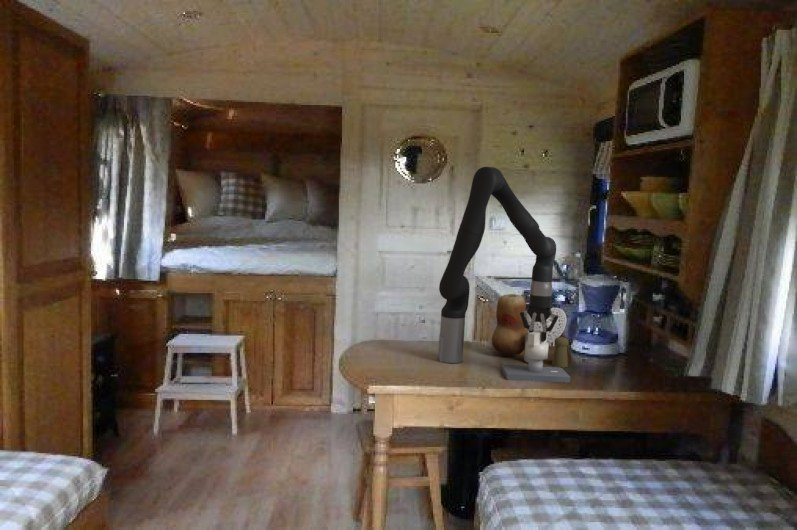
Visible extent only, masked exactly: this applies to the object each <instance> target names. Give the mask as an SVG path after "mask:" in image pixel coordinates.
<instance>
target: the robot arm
mask: <svg viewBox="0 0 797 530" xmlns="http://www.w3.org/2000/svg"><path fill="white" fill-rule="evenodd" d="M491 195H492V196H493V197H494V198H495V199H496V200H497V201H498V203H499V204H500V206H502V208H503V210H504V212H505V214H506V216H507V218H508V220H509V221H510V223H511V225H513V227H514V228H515V229H516V230H517V231H518V233H519V234H520V235H521V236H522V237H523V239H524V241H525V242H526V245H527V247H528V248H529V249H530V251H531V252H532V253H533V254H534V255H535V263H534V265H533V267H532V271H531V272H532V273H531V283H530V288H529V289H530V290H529V302H528V308H527V310H525V311H522V312H521V313H520V316H521V319H522V322H523V325H524V328H525V329H527V331H528V330H529V333H531V332H534V330H533V328H534V325H535V322H537V323H538V322H541V323H542V328H543V332H542V340H541V342H543V343H544V341H545V340H546V336H547V333H548V331H549V332H551V330H552V329H553V327H554V325H555V323H556V322H557V319H558V317H559V316H558V315H555V314H553V313H552V311H551V307H552V297H553V296H552V295H553V272H554V271H553V270H554V264H555V261H556V254H557V244H556V241H555V240H554V239H553V238H552V237H549V236H546V235H545V234H544V233H543V231H542V230H541V229H540V224H539V223H538V222H537V220H536V219H535V218H534V216H532V214H531V213H530V212H529V211H528V210H527V209H526V207H525V206H524V205H523V203H522V202H521V201H520V200H519V199H518V197H517V196H516V194H515V193H514V191H513V190H512V188H511V187H510V185H509V184H508V182H507V180H506V178H505V176H504V175H503V173H502V171H501V170H500V169H498V168H496V167H493V166H482V167H480V168H478V169H477V170H476V172H475V173H474V174H473V178H472V181H471V187H470V191H469V196H468V201H467V204H466V207H465V210H464V213H463V215H462V219H461V222H460V224H459V228H458V231H457V234H456V237H455V241H454V244H453V247H452V250H451V253H450V257H449V259H448V262H447V265H446V267H445V270H444V271H443V275H442V277H441V279H440V281H439V287H438V289H439V293H440V296H441V297H442V298H443V299H445V300H446V302H445V304H444V305H443V306H442V308H441V310H440V311H441V314H440V328H439V340H438V352H437V353H438V354H437V355H438V356H437V358H438V362H440V363H446V364H458V363H460V364H461V363H462V362H463V360H464V345H465V342H464V341H465V331H466V330H465V328H466V327H465V326H466V314H467V311H468V308H469V299H470V288H471V287H470V283H469V279H468V278H467V277H466V276H465V275H464V274H465V271H466V270H467V266H468V265H469V263H470V262H471V260H472V259H473V257H474V256H475V255H476V253H477V251H478V250H479V248H480V246H481V243H482V241H483V237H484V234H485V230H486V216H487V213H486V212H487V206H488V204H489V201H490V198H491ZM527 313H528V314H529V316H530V317H531V319H532V320H531V322H530V323H529V324H530V325H528V322H527V319H526V317H527ZM549 317H551V319H550V320H551V322H552V323H551V325H550V326H549V327H547V321H546V320H547V319H548V318H549ZM552 320H553V321H552ZM541 323H540V324H541Z"/></svg>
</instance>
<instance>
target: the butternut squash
mask: <svg viewBox="0 0 797 530" xmlns="http://www.w3.org/2000/svg"><path fill="white" fill-rule="evenodd" d="M526 309H527V304H526V300H525V298H524V297H523V296H522V295H520V294H515V293H508V294H503V295H502V296H500V297H499V298H498V300H497V305H496V312H495V316H496V317H495V318H496V327H495V329H494V330H493V333H492V336H491V344H492V347H493V349H494V351H496V352H498V353H499V354H501V355H502V356H503V357H513V356H516V355H520V354H522V353H523V352H525V338H526V334H527V332H526V328H524V325H523V322H522V319H521V316H520V313H521V312H522V311H526Z"/></svg>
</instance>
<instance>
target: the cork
mask: <svg viewBox="0 0 797 530" xmlns="http://www.w3.org/2000/svg"><path fill="white" fill-rule="evenodd" d="M568 346H569V339H568V338H566V337H564V336H559V337H557V338H556V339H555V343H554V347H555V348H554V353H553V358H552V362H551V366H552V365H553V366H552V367H554V366H556V367H563V368H562V369H565V368H564V367H567V368H568V367H569V365H568V364H569V363H568Z"/></svg>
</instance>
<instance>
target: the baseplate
mask: <svg viewBox="0 0 797 530" xmlns="http://www.w3.org/2000/svg"><path fill="white" fill-rule="evenodd" d="M527 364H528V365H519V364H518V365H516V364H501V372H502V371H503V372H502V374H503V373H504V374H503V375H504V377H505V379H506V378H507V379H509V380H508V381H523V380H535V381H534V382H544V381H548V383H564V382H565V384H567V383H569V384H570V383H571V376H570V375H569V374H568V373H567V372H566V371H565V370H564V368H560V367H554V366H544V360H537V359H531V358H529V363H527ZM507 379H506V380H507Z"/></svg>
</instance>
